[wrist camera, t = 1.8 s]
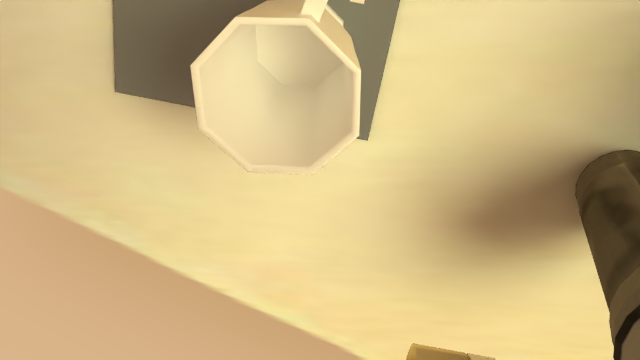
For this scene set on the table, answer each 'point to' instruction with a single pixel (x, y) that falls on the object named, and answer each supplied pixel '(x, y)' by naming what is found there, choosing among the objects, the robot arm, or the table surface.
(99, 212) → the table surface
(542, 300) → the table surface
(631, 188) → the beverage cup
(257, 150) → the cup
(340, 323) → the table surface
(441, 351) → the robot arm
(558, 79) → the table surface
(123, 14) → the tile
